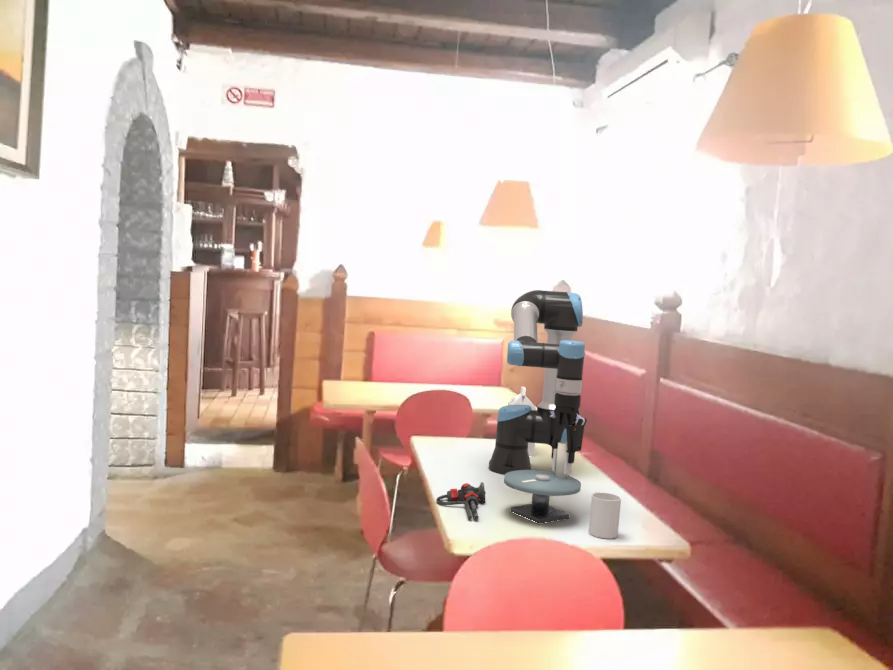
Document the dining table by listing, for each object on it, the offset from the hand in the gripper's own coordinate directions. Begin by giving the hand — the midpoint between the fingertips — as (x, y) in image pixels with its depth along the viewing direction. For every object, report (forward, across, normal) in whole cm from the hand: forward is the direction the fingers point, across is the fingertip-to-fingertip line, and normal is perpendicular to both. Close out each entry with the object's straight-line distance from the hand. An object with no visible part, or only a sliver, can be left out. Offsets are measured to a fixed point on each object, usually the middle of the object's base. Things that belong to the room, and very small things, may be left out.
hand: (561, 471), depth 228 cm
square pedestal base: (+12, 0, -8) cm, 14 cm away
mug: (+12, +18, -4) cm, 22 cm away
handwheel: (+3, 0, -8) cm, 9 cm away
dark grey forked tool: (+13, -18, -23) cm, 31 cm away
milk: (+12, -61, +49) cm, 80 cm away
